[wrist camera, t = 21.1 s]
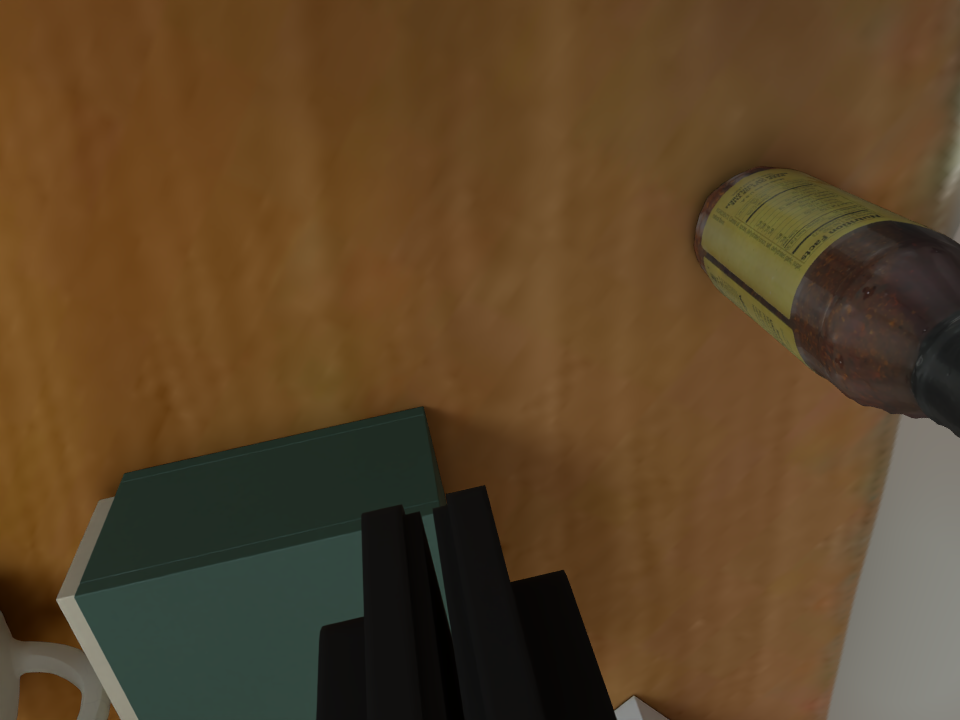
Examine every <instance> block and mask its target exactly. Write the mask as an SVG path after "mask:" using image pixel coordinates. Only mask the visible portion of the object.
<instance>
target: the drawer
mask: <svg viewBox="0 0 960 720" xmlns="http://www.w3.org/2000/svg"><path fill="white" fill-rule="evenodd" d="M113 500H114V497H111V498H107V499H102V500H99V502H98V504H97V506H96V509H95V511H94V513H93V515H92V518H91V520H90V522H89V525H88V527H87V529H86V532H85V534H84V536H83V539H82V541H81V543H80V545H79V548H78V550H77V552H76V555H75V557H74V559H73V562H72V564H71V566H70V568H69V571H68V573H67V575H66V578H65V580H64V582H63V585H62V587H61V589H60V592H59V594H58V596H57V598H56V601H57V603H58V605H59V606H60V608H61V610H62V612H63V614H64V616H65V617H66V619H67V621H68V623H69V625H70V627H71V629H72V630H73V632H74V634H75V636H76V638H77V640H78V641H79V643H80V645H81V647H82V649H83V651H84V653H85V654H86V656H87V658H88V660H89V662H90V664H91V665H92V667H93V669H94V671H95V673H96V675H97V677H98V678H99V680H100V682H101V684H102V686H103V688H104V689H105V691H106V693H107V695H108V697H109V699H110V701H111V702H112V704H113V706H114V708H115V710H116V712H117V713H118V715H119V717H120V719H121V720H138V718H137V716H136V714H135V712H134V710H133V708H132V707H131V705H130V703H129V701H128V699H127V697H126V695H125V693H124V691H123V689H122V688H121V686H120V684H119V682H118V680H117V678H116V676H115V674H114V672H113V671H112V669H111V667H110V665H109V663H108V661H107V659H106V657H105V655H104V653H103V652H102V650H101V648H100V646H99V644H98V642H97V640H96V638H95V636H94V634H93V633H92V631H91V629H90V627H89V625H88V623H87V621H86V619H85V617H84V616H83V614H82V612H81V610H80V608H79V606H78V604H77V602H76V600H75V598H74V596H75V593H76V591H77V588H78V586H79V584H80V581H81V578H82V576H83V573H84V571H85V568H86V566H87V563H88V561H89V559H90V556H91V554H92V551H93V549H94V546H95V544H96V541H97V539H98V537H99V534H100V532H101V529H102V527H103V524H104V522H105V519H106V517H107V514H108V512H109V510H110V507H111V505H112V502H113Z"/></svg>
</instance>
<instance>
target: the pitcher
mask: <svg viewBox="0 0 960 720" xmlns="http://www.w3.org/2000/svg"><path fill="white" fill-rule="evenodd" d="M27 672H46V673H52V674H56V675H58V676H61V677H63V678H64V679H66V680H68V681H69V682H71V683H73V684H74V685H75V686H76V687H77V688H79V689H80V691H81V692H82V701H81V708H80V712H79V715H78V718H77V720H107V719H108V716H109V710H110V703H111V701H110V699H109V697H108V695H107V693H106V691H105V689H104V688H103V686H102V684H101V682H100V680H99V678H98V677H97V675H96V673H95V671H94V669H93V667H92V665H91V664H90V662H89V660H88V658H87V656H86V654H85V653H84V651H82V650H80V649H78V648H74V647H71V646H68V645H63V644H57V643H49V642H34V641H25V642H24V641H20V640H16V639H14V638H13V637H12V635H11V632H10V630H9V628H8V626H7V624H6V622H5V618H4V616H3V614H2V612H1V611H0V720H16V719H17V714H18V704H19V692H20V676H21V675H23V674H24V673H27Z"/></svg>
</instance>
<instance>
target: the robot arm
mask: <svg viewBox="0 0 960 720" xmlns="http://www.w3.org/2000/svg"><path fill="white" fill-rule="evenodd" d="M446 499H447V504H448V505H445V506H441V507H436V508H432V510H433V517H434V524H435V530H436V537H437V543H438V550H439V556H440V563H441V569H442V576H443V582H444V589H445V595H446V601H447V608H448V614H449V621H450V627H451V631H450V627H449V623H448V619H447V615H446V611H445V607H444V603H443V599H442V595H441V591H440V587H439V583H438V579H437V575H436V571H435V567H434V563H433V560H432V556H431V552H430V548H429V544H428V540H427V536H426V532H425V528H424V524H423V520H422V516H421V513H420V511H419V512H414V513H410V514H405V511H404V508H403V505H402V504H400V505H396V506H391V507H387V508H383V509H378V510H374V511H369V512H365V513H362V515H361V533H362V567H363V601H364V616H363V617H359V618H355V619H351V620H346V621H342V622H338V623H333V624H329V625H325V626H322V628H321V630H320V636H319V655H318V684H317V712H316V720H617V718H616V715H615V712H614V709H613V706H612V704H611V701H610V698H609V695H608V692H607V689H606V686H605V683H604V681H603V678H602V675H601V672H600V669H599V666H598V663H597V661H596V658H595V655H594V652H593V649H592V646H591V643H590V641H589V638H588V635H587V632H586V629H585V626H584V623H583V620H582V618H581V615H580V612H579V609H578V606H577V603H576V600H575V598H574V595H573V592H572V589H571V586H570V583H569V581H568V578H567V575H566V573H565V572H564V570H561V571H556V572H552V573H548V574H544V575H539V576H535V577H531V578H526V579H522V580H518V581H514V582H510V580H509V576H508V572H507V568H506V564H505V560H504V557H503V553H502V549H501V545H500V541H499V537H498V533H497V529H496V525H495V522H494V518H493V514H492V510H491V506H490V502H489V498H488V494H487V491H486V487H485V485H484V486H479V487H475V488H471V489H466V490H462V491H457V492H453V493H449V494H446Z"/></svg>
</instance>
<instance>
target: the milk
mask: <svg viewBox="0 0 960 720" xmlns="http://www.w3.org/2000/svg"><path fill="white" fill-rule="evenodd" d="M614 712H615V715H616V718H617V720H669V719H667V718H666V717H664V716H663V715H662V714H660V713H659V712H657V711H656V710H654V709H653V708H651V707H650V706H648V705H647V704H646V703H644V702H643V701H641V700H640V699H638V698H637V697H635V696H633V697H631V698H630V699H629V700H627V701H626V702H625V703H624V704H622V705H621V706H620V707H619V708H617V709H616V710H615V711H614Z"/></svg>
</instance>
